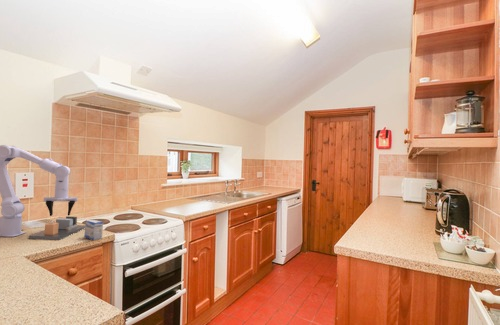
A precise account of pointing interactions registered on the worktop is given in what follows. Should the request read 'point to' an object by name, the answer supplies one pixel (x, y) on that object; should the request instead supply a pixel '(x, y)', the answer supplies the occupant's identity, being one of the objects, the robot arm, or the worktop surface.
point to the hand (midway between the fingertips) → (60, 215)
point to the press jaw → (66, 222)
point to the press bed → (60, 235)
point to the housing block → (51, 228)
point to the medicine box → (93, 229)
